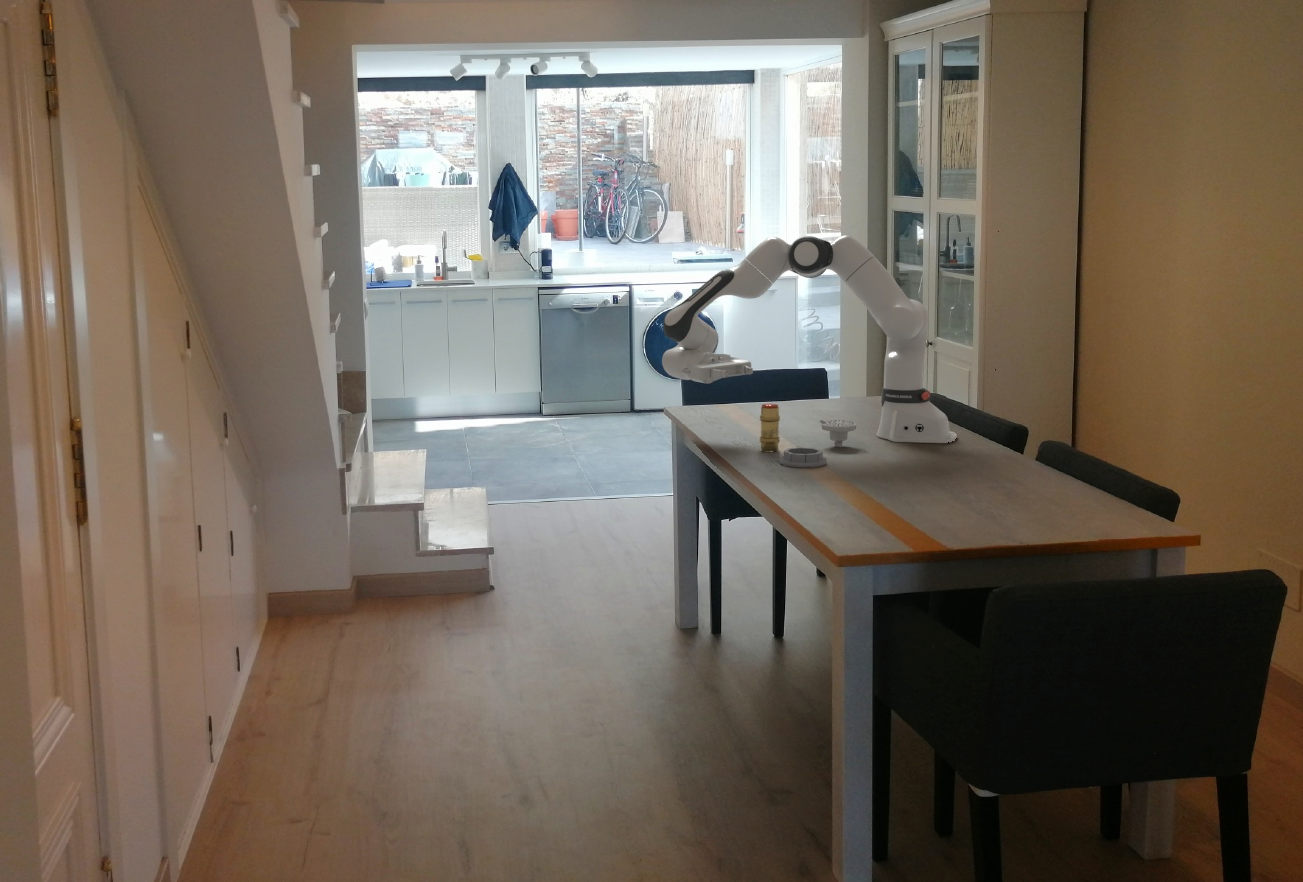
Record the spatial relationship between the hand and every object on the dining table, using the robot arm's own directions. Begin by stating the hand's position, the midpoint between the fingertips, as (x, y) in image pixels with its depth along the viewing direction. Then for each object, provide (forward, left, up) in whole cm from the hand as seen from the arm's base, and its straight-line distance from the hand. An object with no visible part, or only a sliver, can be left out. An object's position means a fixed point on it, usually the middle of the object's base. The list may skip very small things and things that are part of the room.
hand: (738, 372), depth 349 cm
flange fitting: (-24, +19, -20) cm, 36 cm away
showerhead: (-27, -6, -20) cm, 34 cm away
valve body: (-11, +6, -20) cm, 24 cm away
